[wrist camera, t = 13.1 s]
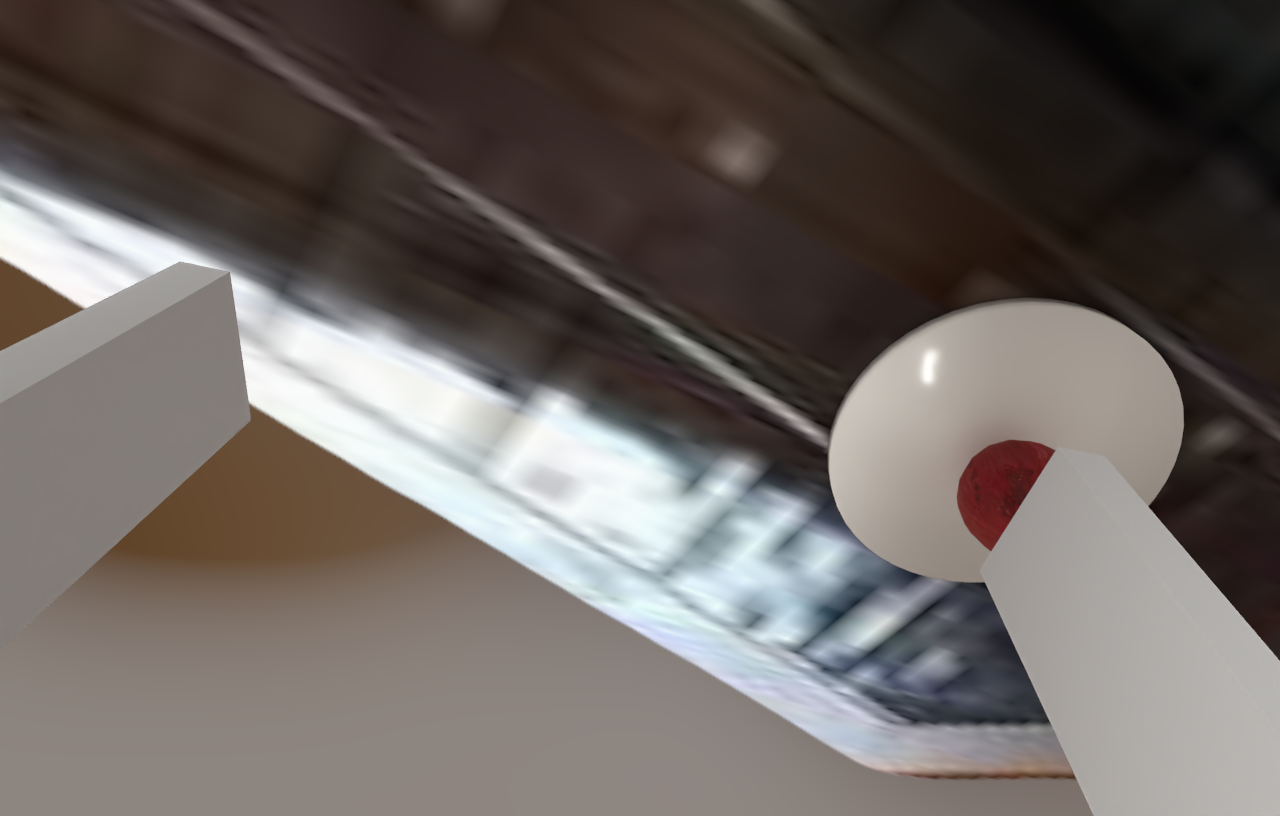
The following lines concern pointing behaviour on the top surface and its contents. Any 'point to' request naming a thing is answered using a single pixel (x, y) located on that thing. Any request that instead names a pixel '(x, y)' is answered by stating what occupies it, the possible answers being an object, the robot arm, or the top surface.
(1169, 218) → the top surface
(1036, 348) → the plate
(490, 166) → the top surface
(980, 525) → the onion
